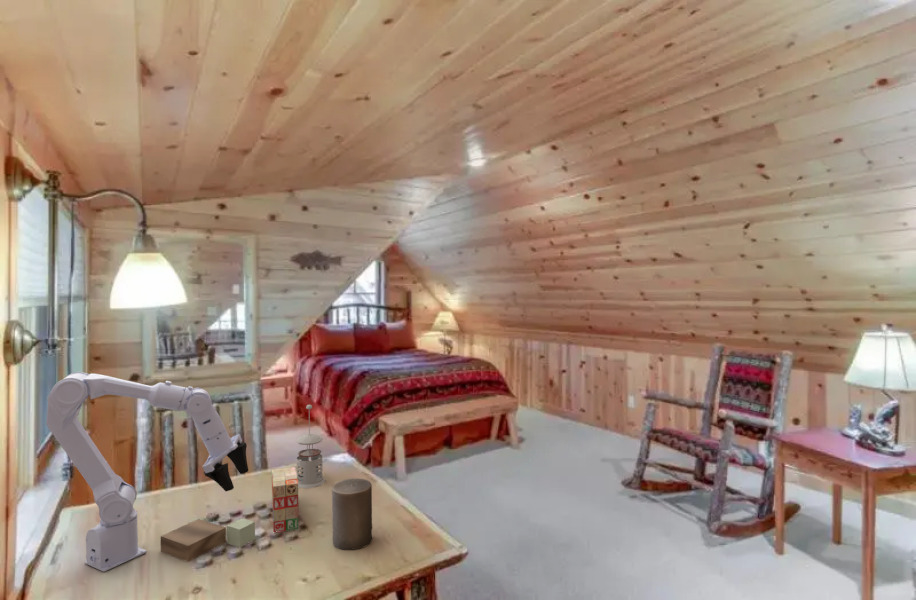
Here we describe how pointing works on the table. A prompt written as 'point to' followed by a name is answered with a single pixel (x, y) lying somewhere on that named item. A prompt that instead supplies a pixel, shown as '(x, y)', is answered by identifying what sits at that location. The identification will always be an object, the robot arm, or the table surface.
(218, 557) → the table surface
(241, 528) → the sage cube
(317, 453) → the french press
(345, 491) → the pillar candle
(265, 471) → the table surface
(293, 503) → the stack of blocks
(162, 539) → the walnut block
